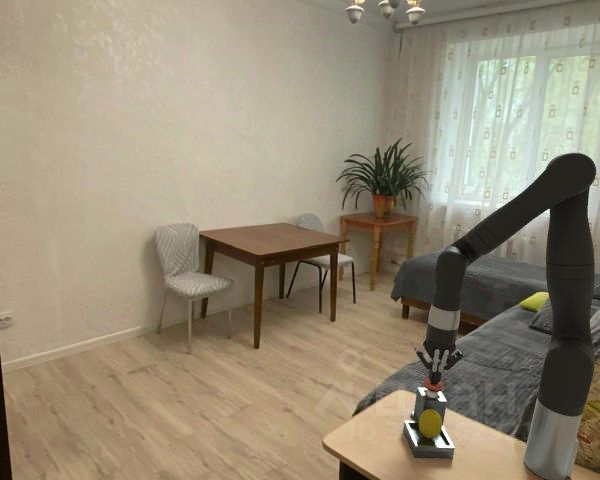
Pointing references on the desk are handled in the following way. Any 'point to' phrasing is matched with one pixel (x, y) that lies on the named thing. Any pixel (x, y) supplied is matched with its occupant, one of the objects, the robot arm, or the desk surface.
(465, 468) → the desk surface
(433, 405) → the press column
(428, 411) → the lemon
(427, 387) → the plunger
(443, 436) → the square metal tray
